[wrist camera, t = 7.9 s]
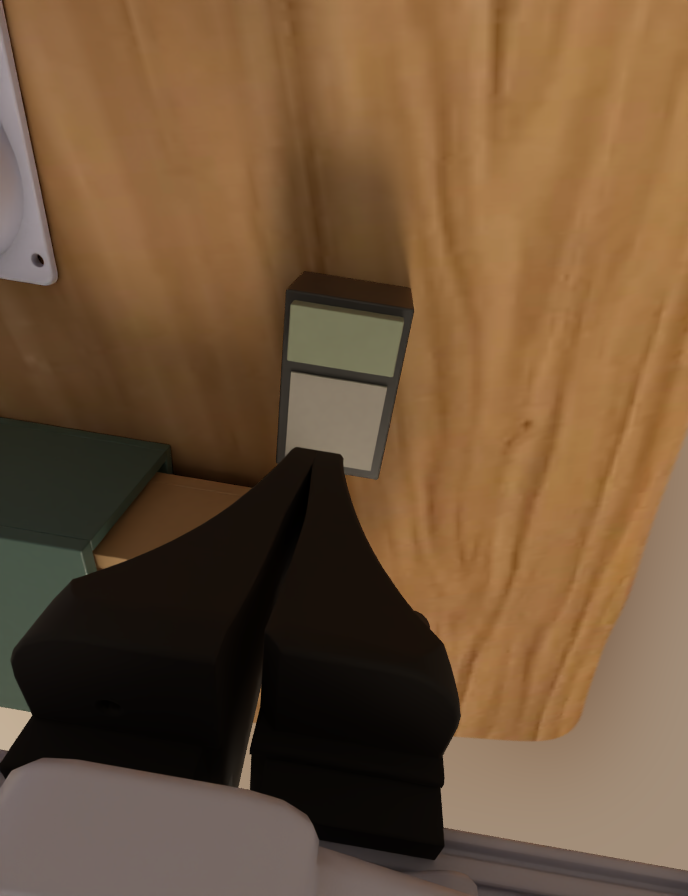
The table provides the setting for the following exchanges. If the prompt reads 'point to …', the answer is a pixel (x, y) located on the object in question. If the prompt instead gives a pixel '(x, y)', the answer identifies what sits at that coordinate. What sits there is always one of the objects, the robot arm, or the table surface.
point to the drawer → (166, 516)
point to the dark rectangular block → (342, 367)
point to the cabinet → (58, 517)
